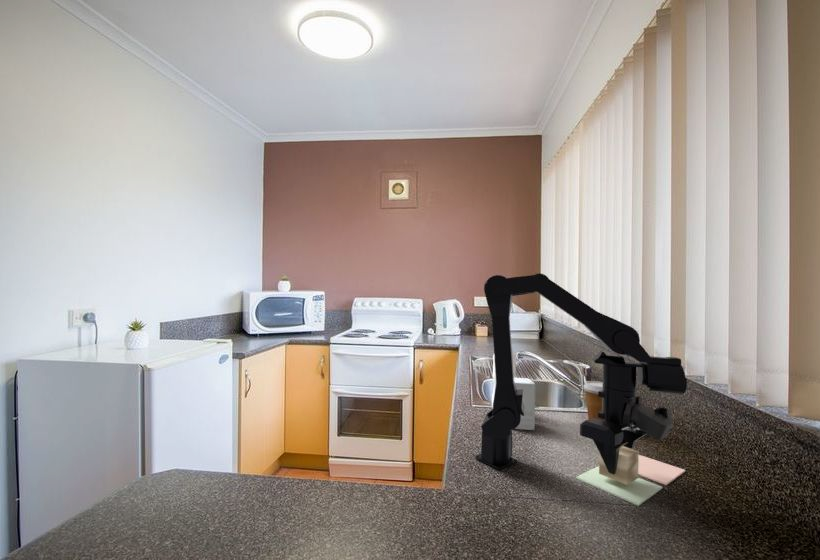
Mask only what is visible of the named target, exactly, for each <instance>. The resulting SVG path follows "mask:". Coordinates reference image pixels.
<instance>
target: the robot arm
mask: <svg viewBox="0 0 820 560" xmlns="http://www.w3.org/2000/svg"><path fill="white" fill-rule="evenodd" d="M483 291H484V292H483V293H484V295H485V300H486V303H487V307H488V310H489V314H490V317H491V324H492V326H491V327H492V339H493V341H492V342H493V352H494V353H493V355H494V358H495V373H496V388H495V394H494V402H493V408H492V409H491V410H489V412H487V413H486V414H485V416H484V419H483V422H482V424H481V425H480V427H481V446H480V447H481V449H480V450H481V451H480V454H476V455H475V457H474V458H475V460H478V461H480V462H482V463H484V464H486V465H488V466H489V467H492V468H494V469H496V470H501V469H502V470H503V469H504V468H508V467H509V466H513V465H515V464H518V459H516V458H513V430H516V429H515V428H516V427H517V426H518V425H519V424H520V421H521V415H522V416H524V409H525V406H524V404H523V401H522V397H523V389H519V390H517V389H516V385H515V382H514V374H513V359H512V349H513V347H512V336H511V335H512V333H511V317H510V316H511V309H512V304H513V303H512V302H513V297H516V296H521V295H529V294H535V293H537V294H538V295H540V296H541V297H543V298H544V299H546V300H547V301H549V302H550V303H551V304H553V305H554V306H556V307H557V308H559V309H560V310H561V311H563V312H565V313H566V314H567V315H568V316H570V317H572V318H573V319H574V320H576V321H577V322H579V323H581V325H583V327H584V328H586V329H587V330H588V332H590V333H591V335H593V336H594V337H595V338H596V339H597V340H598V341H599V342H600V343H601V344H602V345H603V347H605V348H607V350H610V351H612V352H614V353H616V354H617V355H611V354H610V355H609V354H608V355H607V354H606V353H605V352H604V351H603V350H599V352H598V353H597V354H596V355H595V356H593V357H591V361H592V362H594V363H595V364H598V365H600V364H601V365H602V382H603V388H602V391H598V397H602V411H601V412H598V418H601V419H605V421H603V420H599V419H596V418H592V419H586V420H584V421H583V422H582V423H580V424H579V435H580V436H581V437H584V438H587V439H589V440H590V439H591V440H592V441H593V442H594V445H595V447H596V448H597V450H598V452H599V453H600V455H601V457H602V459H603V461H604V463H605V466H606V468H607V470H608V472H609V473H611V474H615V473H616V468H617V463H618V456H619V450H620V448H621V447H622V446H624V447H627V448H630V449H633V450H635V447H636V444H637V441H638V440H639V439H641V438H643V437H644V436H647V435H648V436H649V437H650V438H652V439H653V440H655V441H659V442H660V441H662V440H663V439H666V438H668V436H669V433H670V431H671V429H672V428H674V426H675V424H674V421H675V419H673V418H672V413H671V410H670V409H669V408H667V407H665V406H663V405H662V406H658V407H657V408H655V409H653V407H651V406H650V407H649V406H646V405H644V404H643V398H642V397H641V395H639V394H637V382H638V384H639V386H643V388H644V389H645V391H646V392H652V393H663V394H671V395H680V396H682V395H685V393H686V391H687V387H688V378H687V377H686V374H685V369H684V366H682V359H681V358H679V357H675V356H666V357H661V356H650V354H649V353H648V352H647V351H646V350H645V348H644V347H643V346H642V345H641V343H640V341H641V340H640V334H639V333H638V331H637V330H636V329H635V328H633V327H632V326H630V325H628V324H626V323H624V322H621V321H619V320H618V319H615V318H613V317H610V316H608V315H606V314H603V313H601V312H599V311H597V310H596V309H594V308H593V307H592V306H590V305H588V304H586V303H585V302H584V301H582V300H581V299H579V298H577V297H576V296H575V295H574V294H572V293H571V292H569V291H567V290H566V289H565V288H563V287H561V286H560V285H558V284H557V283H555V282H554V281H553V280H552V279H550V278H549V277H548V276H547V275H546V274H544V273H540V272H539V273H535V274H531V275H522V276H513V277H508V278H507V277H505V276H503V275H501V274H495V275H492V276H491V277H489V278H488V279H487V280H486V281H485V283H484V286H483ZM620 355H621V356H620ZM623 355H624V356H627V357H629V358H630V359H633V360H634V361H627V360H625V358H624V356H623ZM635 360H636V361H637V362H636V361H635ZM599 453H598V454H599Z"/></svg>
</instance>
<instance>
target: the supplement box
mask: <svg viewBox="0 0 820 560" xmlns="http://www.w3.org/2000/svg"><path fill="white" fill-rule="evenodd" d="M514 382H515V385H516V389H517V390H519V389H523V397H522V401H523V404H524V406H525V409H524V416H522V415H521V421H520V424H519V425H518V426H517V427H516V428H515V429H514V430H525V431H535V427H536V426H535V422H536V421H535V419H536V417H535V415H536V410H535V409H536V383H535V382H534V381H532V380H531V379H530V378H525V377H516V378H514Z"/></svg>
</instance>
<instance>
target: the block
mask: <svg viewBox="0 0 820 560" xmlns="http://www.w3.org/2000/svg"><path fill="white" fill-rule="evenodd" d="M639 452H640V451H639V450H636V449H630V448H627V447H624V446H622V447H621V448H620V450H619V456H618V463H617V468H616V473H615V474H611V473H609V472H608V470H607V468H606V466H605V463H604V461H603V459H602V457H601V455H600V453H598V454H599V455H598V456H599V457H598V459H599V460H598V461H599V462H598V463H599V464H598V466H599V474H601V475H604V476H606V477H609V478H611V479H614V480H616V481H618V482H621V483H623V484H626V485H628V484H629V483H631V482H633V481H634V480H636V479H638V478H639V475H638V464H639V455H640V454H639Z"/></svg>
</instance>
